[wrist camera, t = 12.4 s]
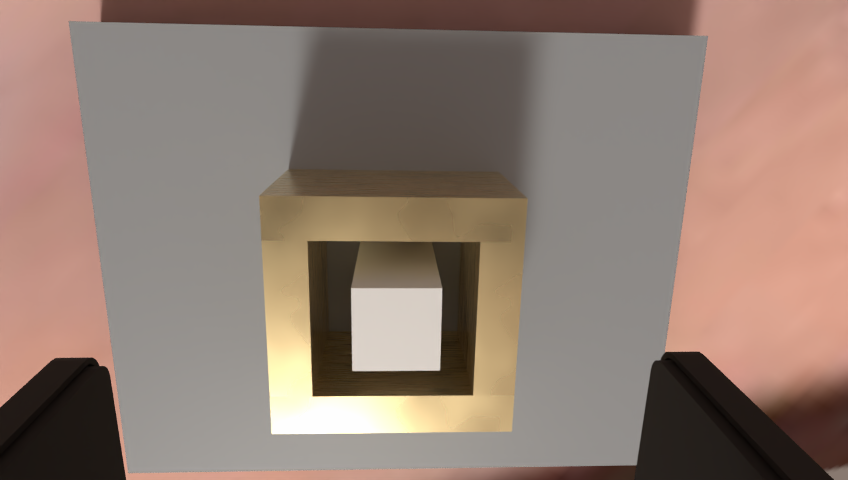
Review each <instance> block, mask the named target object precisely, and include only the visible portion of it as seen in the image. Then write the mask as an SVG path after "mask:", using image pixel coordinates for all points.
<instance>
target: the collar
mask: <svg viewBox="0 0 848 480" xmlns="http://www.w3.org/2000/svg"><path fill="white" fill-rule="evenodd" d="M527 203H528V198H527V197H526V196H524V195H523V194H522V193H521V192H520V191H519V190H518V189H517V188H516V187H515V186H514V185H513V184H511V183H510V182H509V181H508V180H507V179H506V178H505V177H504V176H503V175H502V174H501V173H500V172H477V171H400V170H324V169H288V170H287V171H286V172H285V173H284V174H282V175H281V176H280V177H279V178H278V179H277V180H276V181H275V182H274V183H272V184H271V185H270V186H269V187H268V188H267V189H266V190H265V191H264V192H263V193H261V194H260V195H259V205H260V224H261V243H262V261H263V280H264V299H265V317H266V336H267V355H268V374H269V392H270V411H271V430H272V434H327V433H425V432H512V423H513V408H514V393H515V379H516V364H517V349H518V335H519V320H520V305H521V291H522V276H523V262H524V247H525V232H526V218H527ZM327 241H400V242H461V244H460V270H459V296H458V322H457V331H441V355H440V371H352V331H329V316H328V273H327Z"/></svg>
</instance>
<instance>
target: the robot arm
mask: <svg viewBox="0 0 848 480" xmlns="http://www.w3.org/2000/svg"><path fill="white" fill-rule="evenodd" d="M0 480H126V477H125V470H124V464H123V457H122V451H121V444H120V438H119V431H118V425H117V418H116V412H115V405H114V399H113V392H112V386H111V379H110V374H109V371H108V369H107V368H106V367H105V366H99V364H98V362H97V360H95V359H94V358H55V359H54V360H52V361H51V362H50V363H48V364H47V365H46V366H45V367H44V368H43V369H42V370H41V371H40V372H39V373H38V374H36V375H35V376H34V377H33V378H32V379H31V380H30V381H29V382H28V383H27V384H26V385H24V386H23V387H22V388H21V389H20V390H19V391H18V392H17V393H16V394H15V395H14V396H12V397H11V398H10V399H9V400H8V401H7V402H6V403H5V404H4V405H3V406H2V407H0ZM634 480H834V479H833V478H831V476H829V475H828V474H827V473H826V472H825V471H824V470H823V469H822V468H821V467H820V466H819V465H818V464H817V463H816V462H815V461H814V460H813V459H812V458H811V457H810V456H809V455H808V454H806V453H805V452H804V451H803V450H802V449H801V448H800V447H799V446H798V445H797V444H796V443H795V442H794V441H793V440H792V439H791V438H790V437H789V436H788V435H787V434H786V433H785V432H784V431H782V430H781V429H780V428H779V427H778V426H777V425H776V424H775V423H774V422H773V421H772V420H771V419H770V418H769V417H768V416H767V415H766V414H765V413H764V412H763V411H762V410H761V409H760V408H758V407H757V406H756V405H755V404H754V403H753V402H752V401H751V400H750V399H749V398H748V397H747V396H746V395H745V394H744V393H743V392H742V391H741V390H740V389H739V388H738V387H737V386H735V385H734V384H733V383H732V382H731V381H730V380H729V379H728V378H727V377H726V376H725V375H724V374H723V373H722V372H721V371H720V370H719V369H718V368H717V367H716V366H715V365H714V364H713V363H711V362H710V361H709V360H708V359H707V358H706V357H705V356H704V355H703V354H702V353H700V352H666V353H664V354H663V356H662V357H661V360H656V361H654V362H653V364H652V367H651V372H650V379H649V385H648V392H647V399H646V405H645V412H644V419H643V425H642V432H641V439H640V445H639V452H638V459H637V465H636V472H635V479H634Z"/></svg>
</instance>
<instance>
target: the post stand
mask: <svg viewBox="0 0 848 480" xmlns="http://www.w3.org/2000/svg"><path fill="white" fill-rule="evenodd" d="M69 27H70V35H71V43H72V50H73V58H74V65H75V73H76V81H77V88H78V96H79V103H80V111H81V118H82V126H83V134H84V141H85V149H86V156H87V164H88V171H89V179H90V187H91V194H92V202H93V209H94V217H95V225H96V232H97V240H98V247H99V255H100V262H101V270H102V278H103V285H104V293H105V300H106V308H107V315H108V323H109V331H110V338H111V346H112V353H113V361H114V369H115V376H116V384H117V391H118V399H119V406H120V414H121V422H122V429H123V437H124V444H125V452H126V459H127V467H128V473H164V472H227V471H291V470H355V469H418V468H482V467H546V466H609V465H637V459H638V452H639V445H640V439H641V432H642V425H643V419H644V412H645V405H646V399H647V392H648V385H649V379H650V372H651V367H652V364H653V362H654V361H656V360H661V357H662V356H663V354H664V353H665V346H666V338H667V331H668V324H669V317H670V309H671V302H672V295H673V287H674V280H675V273H676V266H677V258H678V251H679V244H680V236H681V229H682V222H683V215H684V207H685V200H686V193H687V185H688V178H689V171H690V164H691V156H692V149H693V142H694V134H695V127H696V120H697V113H698V105H699V98H700V91H701V83H702V76H703V69H704V62H705V54H706V47H707V40H708V36H687V35H644V34H600V33H556V32H513V31H469V30H425V29H382V28H338V27H294V26H251V25H207V24H163V23H120V22H76V21H69ZM288 169H324V170H400V171H477V172H500V173H501V174H502V175H503V176H504V177H505V178H506V179H507V180H508V181H509V182H510V183H511V184H513V185H514V186H515V187H516V188H517V189H518V190H519V191H520V192H521V193H522V194H523V195H524V196H526V197H527V198H528V203H527V218H526V232H525V247H524V262H523V276H522V291H521V305H520V320H519V335H518V349H517V364H516V379H515V393H514V408H513V423H512V432H425V433H327V434H272V430H271V411H270V392H269V374H268V355H267V336H266V317H265V299H264V280H263V261H262V243H261V224H260V205H259V195H260V194H261V193H263V192H264V191H265V190H266V189H267V188H268V187H269V186H270V185H271V184H272V183H274V182H275V181H276V180H277V179H278V178H279V177H280V176H281V175H282V174H284V173H285V172H286V171H287V170H288ZM460 244H461V242H400V241H327V273H328V316H329V331H352V371H440V355H441V331H457V322H458V296H459V270H460Z"/></svg>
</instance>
